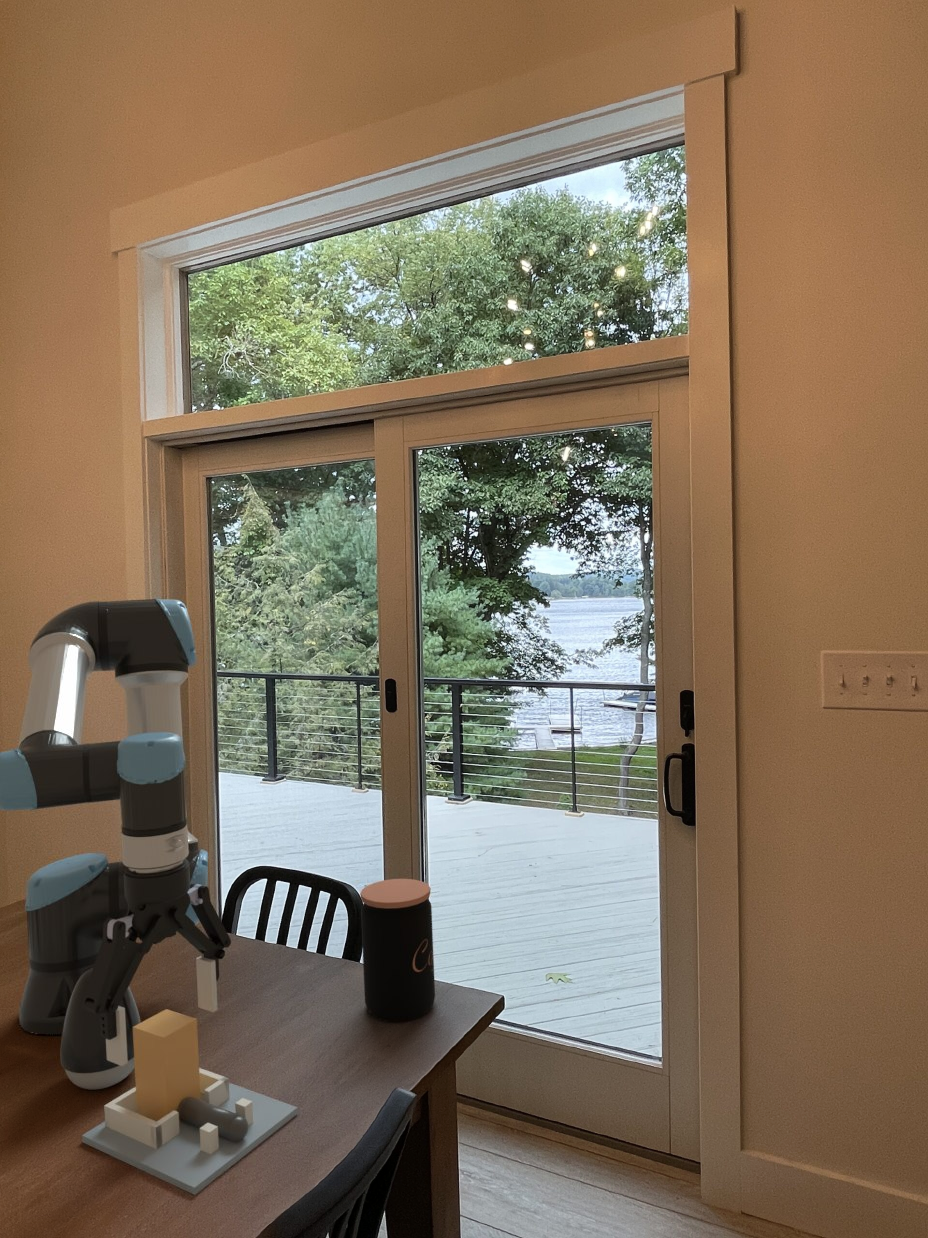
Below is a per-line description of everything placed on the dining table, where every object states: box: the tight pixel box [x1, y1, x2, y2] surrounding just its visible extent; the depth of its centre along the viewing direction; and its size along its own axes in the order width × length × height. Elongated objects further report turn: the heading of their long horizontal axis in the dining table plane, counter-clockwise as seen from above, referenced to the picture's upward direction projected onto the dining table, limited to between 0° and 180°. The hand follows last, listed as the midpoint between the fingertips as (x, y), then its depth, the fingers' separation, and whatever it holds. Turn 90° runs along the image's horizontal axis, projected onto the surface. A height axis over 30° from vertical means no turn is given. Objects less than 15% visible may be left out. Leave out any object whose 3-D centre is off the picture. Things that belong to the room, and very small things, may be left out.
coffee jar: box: [359, 878, 436, 1023], centre depth 131 cm, size 11×11×18 cm
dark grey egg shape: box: [59, 966, 142, 1090], centre depth 114 cm, size 10×10×15 cm
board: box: [81, 1067, 299, 1196], centre depth 103 cm, size 19×16×3 cm
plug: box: [133, 1008, 249, 1142], centre depth 102 cm, size 16×5×11 cm, turn 59°
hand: (165, 1034), depth 105 cm, fingers open, 13 cm apart
